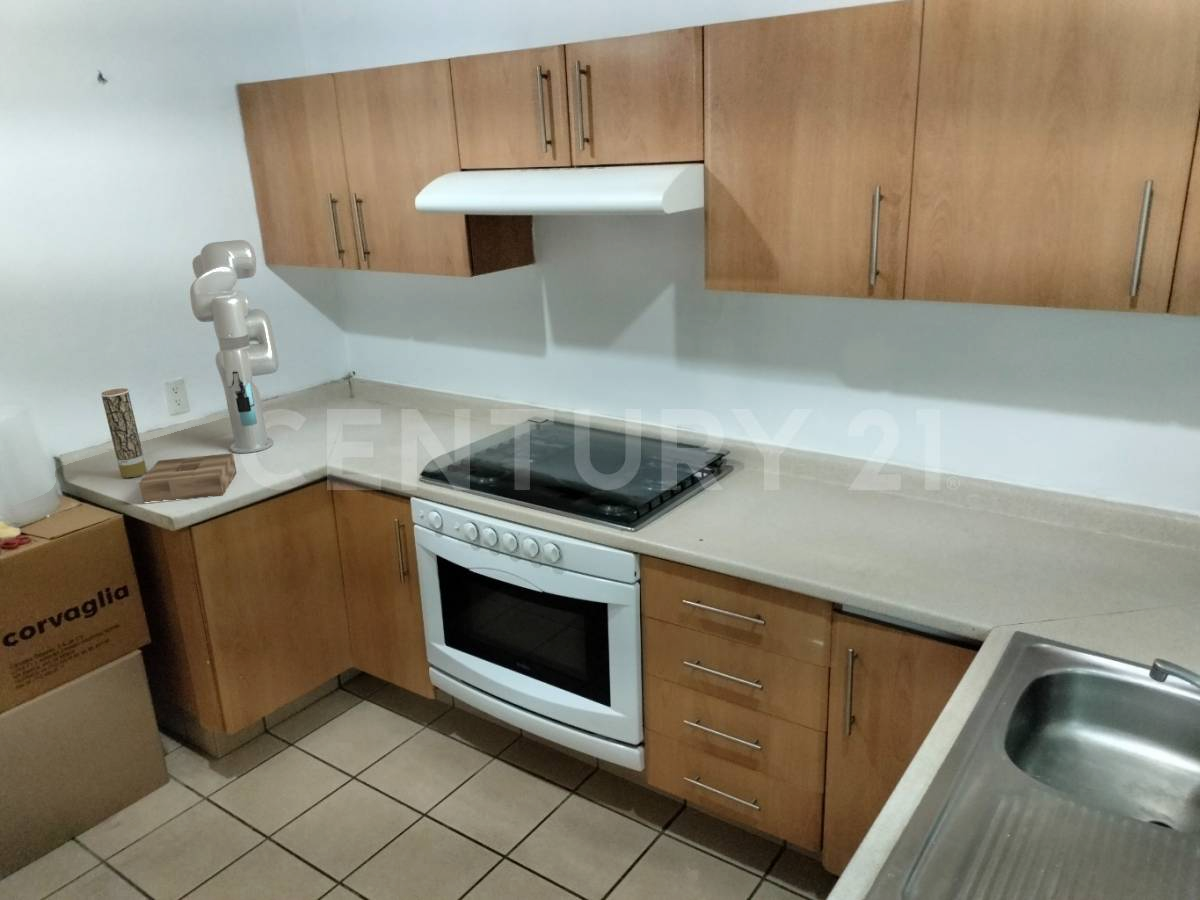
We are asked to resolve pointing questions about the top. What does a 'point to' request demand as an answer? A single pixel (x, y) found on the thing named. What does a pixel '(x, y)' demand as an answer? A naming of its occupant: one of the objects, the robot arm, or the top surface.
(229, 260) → the robot arm
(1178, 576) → the top surface
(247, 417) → the peg
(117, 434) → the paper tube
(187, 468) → the socket block
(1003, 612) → the top surface
